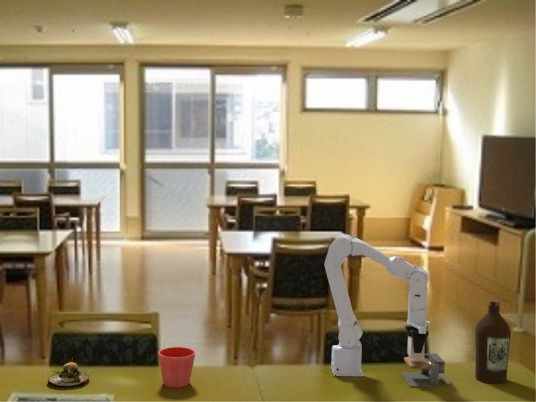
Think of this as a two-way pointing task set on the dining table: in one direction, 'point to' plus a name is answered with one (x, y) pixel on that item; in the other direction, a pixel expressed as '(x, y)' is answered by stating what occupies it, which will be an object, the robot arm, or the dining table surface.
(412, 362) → the trapdoor
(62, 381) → the burger
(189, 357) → the flower pot
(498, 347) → the olive oil
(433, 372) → the frame
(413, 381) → the mat
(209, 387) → the dining table surface
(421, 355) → the white rectangular block
